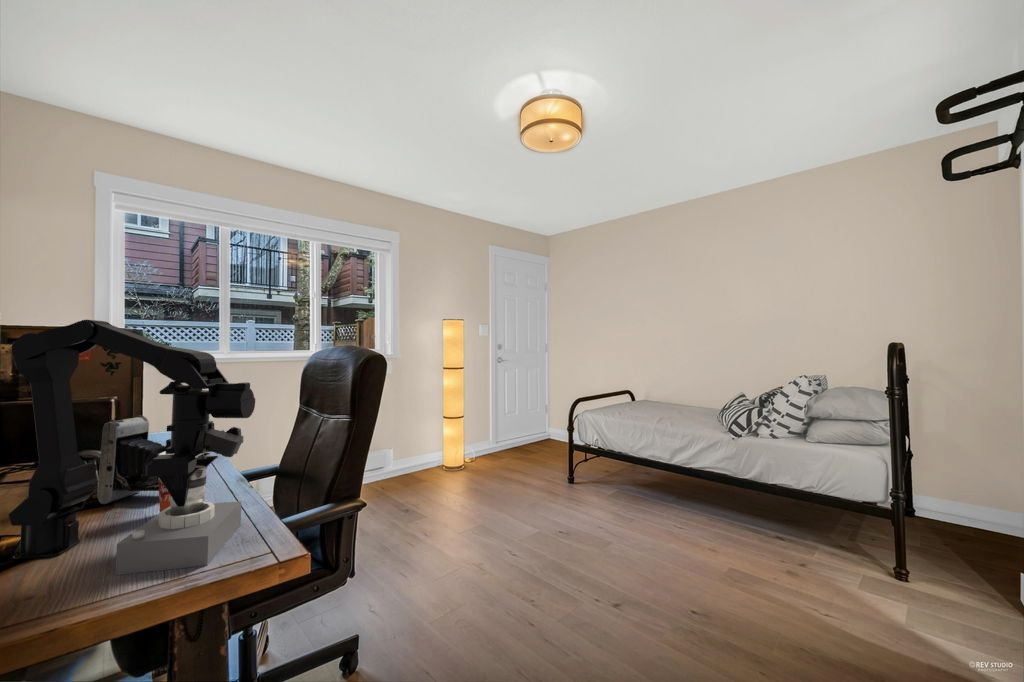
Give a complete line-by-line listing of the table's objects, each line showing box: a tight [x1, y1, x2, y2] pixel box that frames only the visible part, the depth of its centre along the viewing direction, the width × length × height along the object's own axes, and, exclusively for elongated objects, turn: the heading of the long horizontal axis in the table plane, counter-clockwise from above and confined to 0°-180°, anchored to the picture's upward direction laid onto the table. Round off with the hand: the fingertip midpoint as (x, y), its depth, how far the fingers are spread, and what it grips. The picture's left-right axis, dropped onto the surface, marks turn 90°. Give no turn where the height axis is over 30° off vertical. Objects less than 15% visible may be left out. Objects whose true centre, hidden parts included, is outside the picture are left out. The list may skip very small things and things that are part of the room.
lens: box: [170, 466, 208, 516], centre depth 82 cm, size 5×5×8 cm
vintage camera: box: [96, 415, 171, 505], centre depth 108 cm, size 10×16×20 cm, turn 89°
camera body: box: [115, 500, 242, 576], centre depth 82 cm, size 13×18×7 cm
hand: (187, 501), depth 82 cm, fingers closed on lens, 5 cm apart
